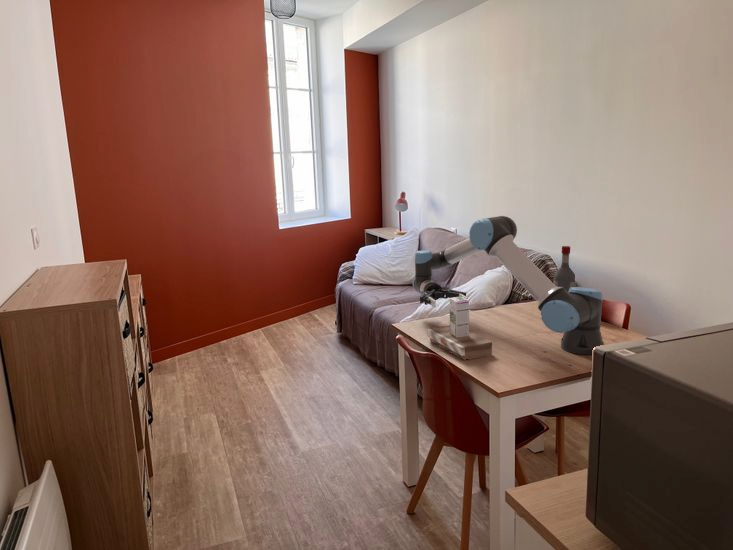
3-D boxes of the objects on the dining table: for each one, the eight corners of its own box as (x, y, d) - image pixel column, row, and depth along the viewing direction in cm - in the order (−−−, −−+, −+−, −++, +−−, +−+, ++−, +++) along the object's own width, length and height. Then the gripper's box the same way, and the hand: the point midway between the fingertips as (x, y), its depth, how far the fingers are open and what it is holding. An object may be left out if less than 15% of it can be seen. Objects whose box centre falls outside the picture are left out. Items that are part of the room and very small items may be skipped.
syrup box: (469, 336, 202) (470, 299, 198) (455, 338, 200) (455, 301, 197) (462, 331, 207) (463, 295, 204) (448, 333, 205) (449, 297, 202)
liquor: (573, 307, 253) (577, 245, 246) (572, 312, 244) (576, 248, 238) (553, 306, 256) (556, 244, 250) (551, 311, 248) (555, 247, 241)
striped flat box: (491, 354, 196) (492, 342, 195) (461, 361, 191) (461, 348, 190) (455, 336, 217) (455, 324, 216) (427, 341, 212) (426, 329, 211)
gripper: (457, 296, 234) (479, 308, 214) (404, 301, 229) (421, 314, 208) (458, 279, 233) (479, 290, 213) (403, 284, 227) (421, 296, 207)
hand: (450, 302), depth 211 cm, fingers open, 13 cm apart
